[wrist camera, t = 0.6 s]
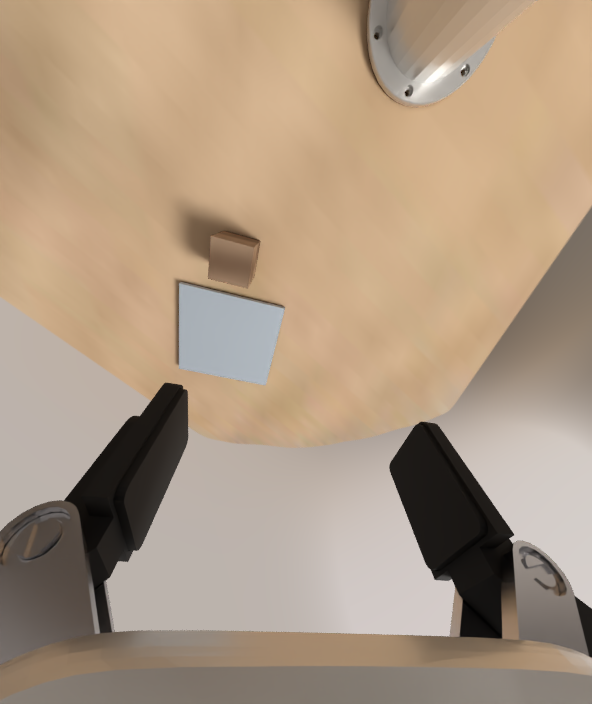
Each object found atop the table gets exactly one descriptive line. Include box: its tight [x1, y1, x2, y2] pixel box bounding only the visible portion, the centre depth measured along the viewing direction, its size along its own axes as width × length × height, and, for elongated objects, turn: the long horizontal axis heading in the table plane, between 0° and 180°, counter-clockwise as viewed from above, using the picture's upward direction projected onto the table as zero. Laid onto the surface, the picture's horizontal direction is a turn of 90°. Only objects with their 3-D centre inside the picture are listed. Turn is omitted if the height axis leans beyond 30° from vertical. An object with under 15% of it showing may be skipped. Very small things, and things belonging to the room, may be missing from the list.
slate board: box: [179, 282, 285, 385], centre depth 41 cm, size 16×16×1 cm
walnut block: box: [208, 231, 260, 289], centre depth 31 cm, size 5×5×6 cm
